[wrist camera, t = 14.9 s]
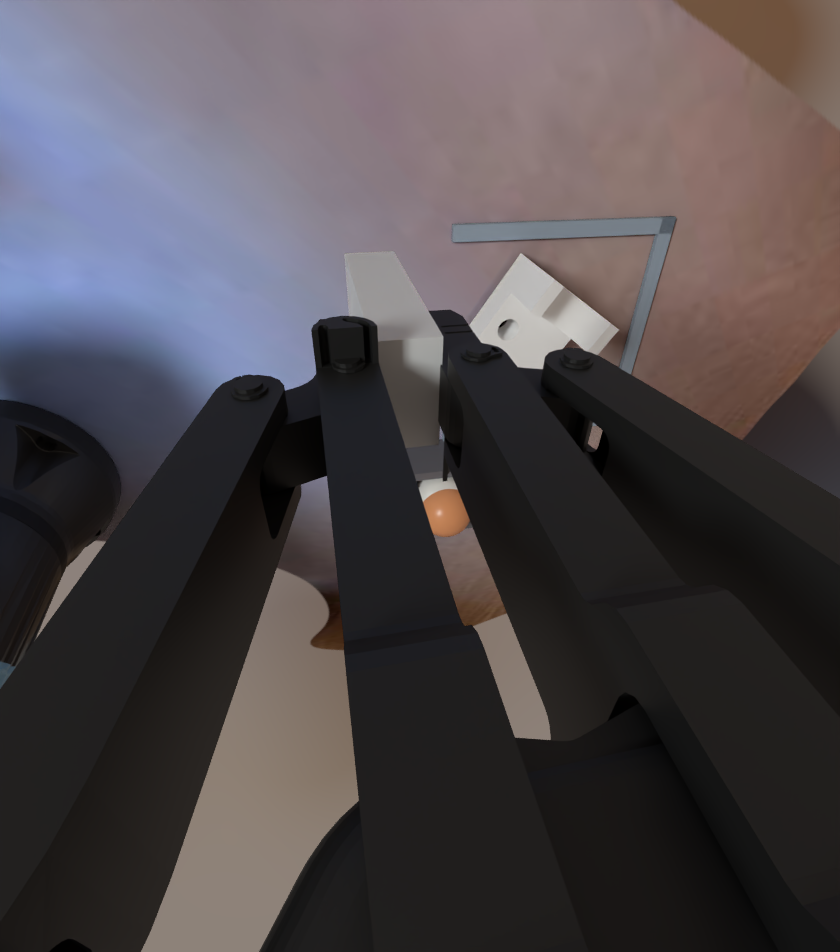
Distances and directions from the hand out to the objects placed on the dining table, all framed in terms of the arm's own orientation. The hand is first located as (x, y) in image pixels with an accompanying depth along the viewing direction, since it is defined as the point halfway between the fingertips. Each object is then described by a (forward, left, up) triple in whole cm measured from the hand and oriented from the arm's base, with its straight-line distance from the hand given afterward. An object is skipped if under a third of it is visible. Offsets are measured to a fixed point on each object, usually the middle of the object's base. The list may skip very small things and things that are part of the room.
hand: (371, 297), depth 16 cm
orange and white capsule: (+8, -26, -23) cm, 36 cm away
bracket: (+14, -13, -25) cm, 31 cm away
